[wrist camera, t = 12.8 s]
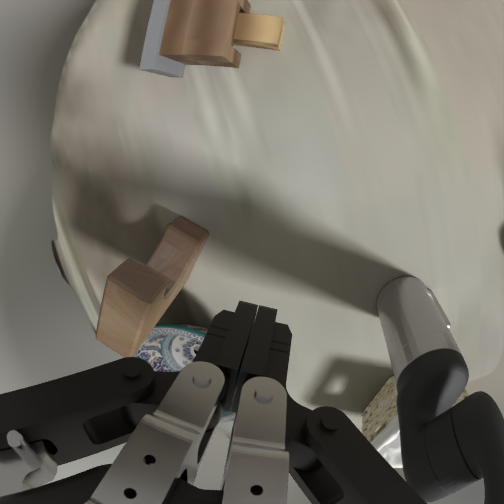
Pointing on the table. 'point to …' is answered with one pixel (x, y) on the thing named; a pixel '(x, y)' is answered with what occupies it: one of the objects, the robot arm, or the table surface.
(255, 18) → the tan wooden block
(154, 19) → the wall
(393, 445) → the storage basket
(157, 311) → the decorative block
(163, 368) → the bowl
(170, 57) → the socket block
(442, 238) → the table surface
